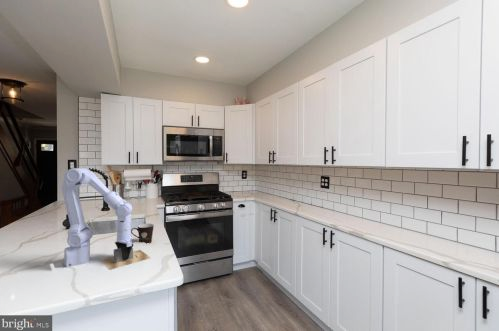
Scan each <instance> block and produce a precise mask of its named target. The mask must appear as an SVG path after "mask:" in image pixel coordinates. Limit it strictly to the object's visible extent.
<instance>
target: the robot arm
mask: <svg viewBox="0 0 499 331" xmlns="http://www.w3.org/2000/svg"><path fill="white" fill-rule="evenodd" d="M82 185H89V186H90V187H92V188H93V189H94V190H95V191H97V192H98V193H99V194H100V195H102V196H103V201H104V202H105V203H106V204H107V205H108V206H110V207H111V208H112V209H113V210H114V214H115V216H116V217H117V220H116V222H117V224H116V226H117V227H116V241H115V242H114V245H116V249H118V248H120V249H121V251H122V257H123V260H127V259H129V255H130V251H131V249H132V248H133V247H134V243H133V242H132V240H134V237H135V236H134V235H132V233H131V229H132V214H131V213H132V212H133V209H134V208H133V205H132V203H131V202H128V201H127V200H125V199H123V198H122V197H121V196H120V193H119V192H116V191H111V190H110V189H109V188H108V187H107V186H106V185H105V184H104V183H103V182H102V181H101V180H100V179H99V178H98V176H96V173H94V172H93V171H92V170H90V169H89V168H88V167H78V168H77V167H72V168H69V169H68V170H67V171H66V172H65V173H64V174H63V181H62V185H61V191H62V192H61V193H62V195H63V196H62V197H63V199H64V205H65V209H66V213H67V216H68V220H69V226H70V227H69V229H67V239H66V240H67V241H66V242H67V245H68V247H65V248H64V252H63V253H64V255H63V257H64V261H63V265H64V266H65V267H66V268H71V267H73V266H80V265H84V264H87V263H89V262H90V261H91V239H92V238H93V236H94V235H93V234H94V232H93V230H92V229H91V228H90V225H89V224H88V223H87V222H86V221H85V220H86V219H85V217H84V212H83V208H82V204H81V200H80V194H79V191H78V189H79V188H80V187H81V186H82Z"/></svg>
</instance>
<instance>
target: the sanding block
mask: <svg viewBox="0 0 499 331" xmlns="http://www.w3.org/2000/svg"><path fill="white" fill-rule="evenodd" d="M133 252H134V248H133V247H132V249H131V251H130V255H129V259H127V260H131V259H133ZM113 257H114V261H115V262H116V263H120V262H123V261H127V260H123V257H122V251H121V249H120V248H115V249H113Z"/></svg>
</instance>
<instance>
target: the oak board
mask: <svg viewBox="0 0 499 331" xmlns="http://www.w3.org/2000/svg"><path fill="white" fill-rule="evenodd" d="M149 259H152V257H151V256H149V255H148V254H147V253H145V252H144V251H142V250H141V249H139V250H135V251H134V250H133V259H131V260H127V261H123V262H120V263H116V262H115V261H114V256H110V257H107V258H103V259H102V258H101V259H100V261H101V263H102V264H103V265H104V266H105V267H106V269H107V270H109V271H110V270H114V269H119V268H122V267H124V266H129V265H131V264H132V265H133V264H135V263H136V264H137V263H139V262H143V261H145V260H149Z"/></svg>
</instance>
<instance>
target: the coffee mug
mask: <svg viewBox="0 0 499 331" xmlns="http://www.w3.org/2000/svg"><path fill="white" fill-rule="evenodd" d="M154 227H155V226H154V224H153V223H141V224H139V225H137V227H133V228H131V235H132V236H133V237H135V238H137V239H138V240H139V241H138V242H139V243H145V245H148V244H147V243H149V244H151V243H152V241H153V232H154ZM133 230H136V231H137V233H138V236H137V235H136V234H134V233H133Z"/></svg>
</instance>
